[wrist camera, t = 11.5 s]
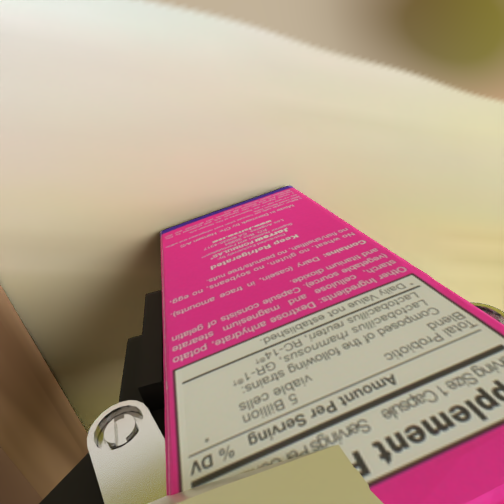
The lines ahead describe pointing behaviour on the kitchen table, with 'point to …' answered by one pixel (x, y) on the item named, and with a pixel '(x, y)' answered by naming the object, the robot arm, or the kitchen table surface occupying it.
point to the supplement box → (324, 357)
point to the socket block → (32, 418)
